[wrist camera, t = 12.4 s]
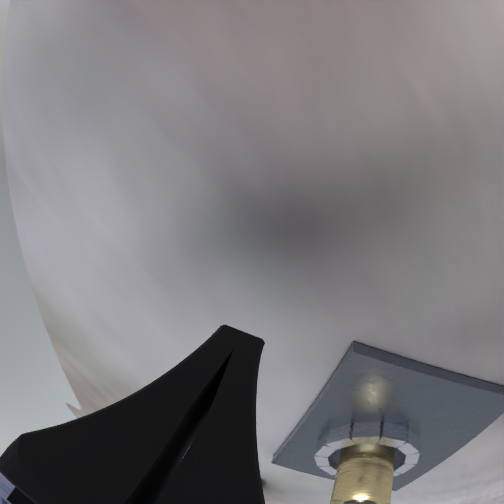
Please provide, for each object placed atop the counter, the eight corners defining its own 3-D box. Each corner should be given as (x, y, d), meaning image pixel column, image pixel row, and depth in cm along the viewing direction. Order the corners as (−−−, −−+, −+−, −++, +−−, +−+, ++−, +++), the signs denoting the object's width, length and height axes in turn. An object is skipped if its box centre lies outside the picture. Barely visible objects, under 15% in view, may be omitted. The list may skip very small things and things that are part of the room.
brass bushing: (392, 430, 22) (387, 493, 17) (397, 455, 24) (392, 510, 19) (335, 436, 24) (323, 496, 19) (347, 460, 26) (337, 512, 21)
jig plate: (515, 389, 18) (522, 412, 16) (396, 484, 28) (394, 501, 26) (353, 341, 20) (350, 368, 18) (273, 455, 31) (267, 473, 28)
